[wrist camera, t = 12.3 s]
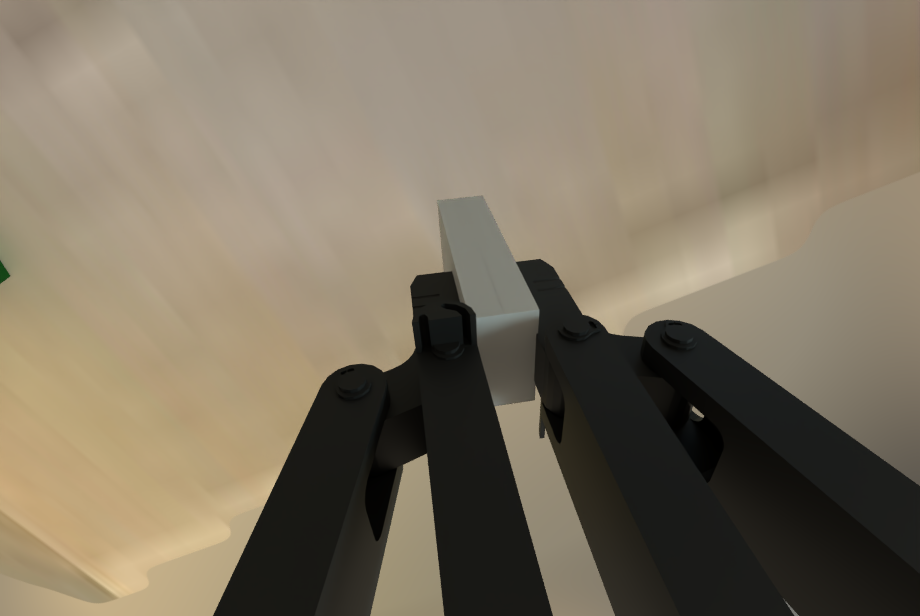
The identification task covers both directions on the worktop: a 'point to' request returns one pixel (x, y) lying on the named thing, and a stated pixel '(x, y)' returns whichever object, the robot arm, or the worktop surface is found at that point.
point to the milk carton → (3, 273)
